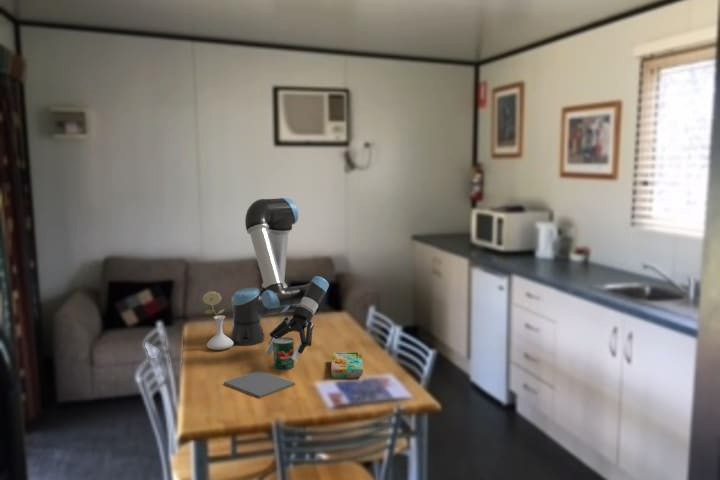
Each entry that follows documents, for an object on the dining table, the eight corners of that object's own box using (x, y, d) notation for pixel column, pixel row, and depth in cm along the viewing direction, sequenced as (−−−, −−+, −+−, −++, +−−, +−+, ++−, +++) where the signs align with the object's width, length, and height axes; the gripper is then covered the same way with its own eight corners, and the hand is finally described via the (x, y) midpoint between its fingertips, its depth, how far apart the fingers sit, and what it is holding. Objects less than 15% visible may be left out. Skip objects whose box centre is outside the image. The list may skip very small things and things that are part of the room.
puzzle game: (331, 367, 213) (332, 350, 233) (331, 379, 214) (332, 361, 234) (362, 366, 213) (361, 350, 233) (362, 379, 214) (361, 361, 234)
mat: (223, 384, 208) (223, 382, 208) (258, 372, 220) (258, 370, 220) (260, 398, 195) (260, 395, 195) (294, 384, 207) (294, 382, 207)
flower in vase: (237, 344, 257) (235, 288, 254) (228, 352, 246) (227, 294, 243) (208, 343, 258) (206, 288, 255) (199, 351, 247) (196, 293, 244)
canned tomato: (283, 372, 221) (283, 344, 219) (269, 368, 225) (268, 340, 224) (298, 366, 227) (297, 339, 226) (283, 363, 232) (283, 336, 230)
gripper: (333, 320, 229) (309, 367, 219) (287, 312, 244) (262, 355, 233) (325, 309, 225) (300, 357, 214) (277, 301, 239) (252, 346, 228)
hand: (280, 356), depth 224 cm, fingers open, 13 cm apart
